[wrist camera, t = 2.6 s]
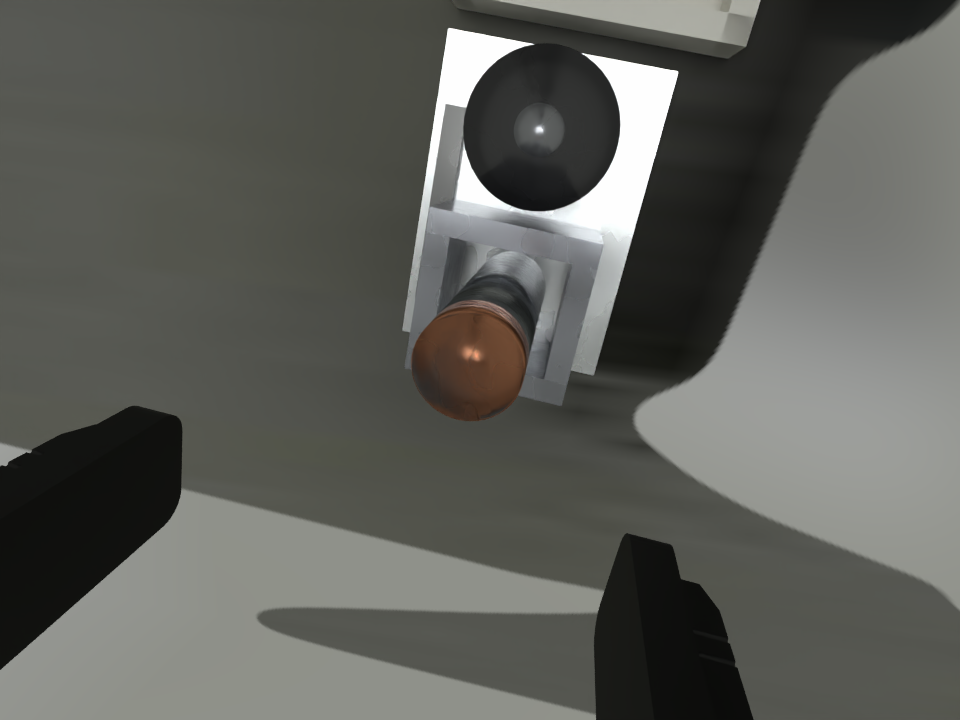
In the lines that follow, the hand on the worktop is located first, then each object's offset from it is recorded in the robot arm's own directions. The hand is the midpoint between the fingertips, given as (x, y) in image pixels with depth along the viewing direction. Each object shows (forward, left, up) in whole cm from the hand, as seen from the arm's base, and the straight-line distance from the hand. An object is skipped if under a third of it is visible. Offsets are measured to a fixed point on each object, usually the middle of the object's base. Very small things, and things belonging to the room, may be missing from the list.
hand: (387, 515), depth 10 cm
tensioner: (-4, 0, -21) cm, 21 cm away
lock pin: (0, 0, -20) cm, 20 cm away
